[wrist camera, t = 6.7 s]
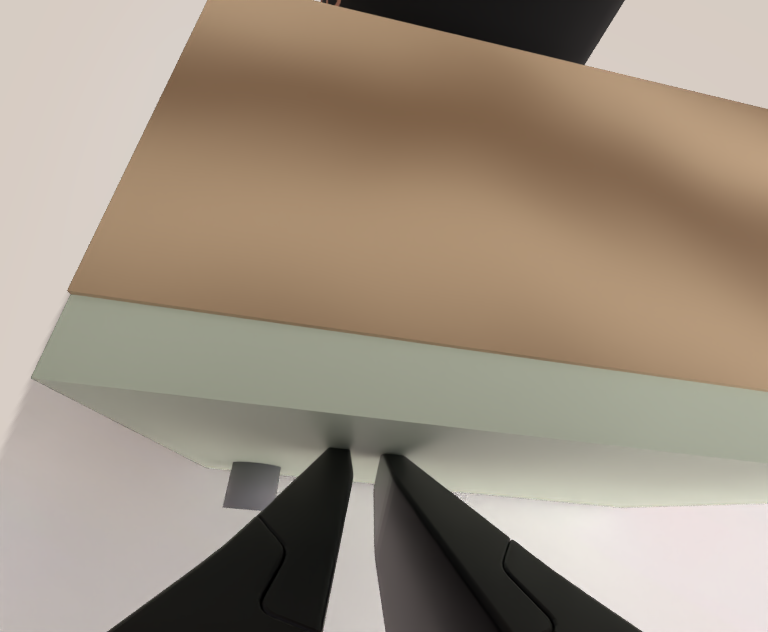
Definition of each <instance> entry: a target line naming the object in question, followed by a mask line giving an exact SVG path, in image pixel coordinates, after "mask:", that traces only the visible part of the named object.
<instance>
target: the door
mask: <svg viewBox="0 0 768 632" xmlns="http://www.w3.org/2000/svg"><path fill="white" fill-rule="evenodd" d="M31 379H33V380H35V381H37V382H39V383H41V384H43V385H45V386H47V387H49V388H51V389H53V390H55V391H57V392H59V393H61V394H63V395H65V396H67V397H68V398H70V399H72V400H74V401H76V402H78V403H80V404H82V405H84V406H86V407H88V408H90V409H92V410H94V411H96V412H98V413H100V414H102V415H104V416H106V417H108V418H109V419H111V420H113V421H115V422H117V423H119V424H121V425H123V426H125V427H127V428H129V429H131V430H133V431H135V432H137V433H139V434H141V435H143V436H145V437H147V438H149V439H151V440H152V441H154V442H156V443H158V444H160V445H162V446H164V447H166V448H168V449H170V450H172V451H174V452H176V453H178V454H180V455H182V456H184V457H186V458H188V459H190V460H192V461H193V462H195V463H197V464H199V465H201V466H203V467H205V468H211V469H221V470H231V473H230V478H229V482H228V486H227V491H226V495H225V500H224V504H223V507H224V508H235V509H247V510H259V511H262V510H264V509H265V508H266V507H267V506H268V505H269V504H270V503H271V502H272V501H273V500H274V499H275V498H276V493H277V487H278V482H279V476H280V475H284V476H294V477H298V476H299V475H300V474H301V473H302V472H303V471H304V470H306V469H307V468H308V467H309V466H310V465H311V464H312V463H313V462H314V461H315V460H316V459H317V458H318V457H319V456H320V455H321V454H322V453H323V452H324V451H325V450H326V449H328V448H329V447H331V448H341V449H349V450H350V453H351V459H352V466H353V482H357V483H368V484H374V483H375V478H376V474H377V469H378V465H379V460H380V456H381V455H382V454H385V453H387V454H396V455H404V456H405V457H407V458H408V459H409V460H410V461H412V462H413V463H414V464H416V465H417V466H418V467H419V468H421V469H422V470H423V471H425V472H426V473H427V474H428V475H430V476H431V477H432V478H434V479H435V480H436V481H437V482H439V483H440V484H441V485H442V486H444V487H445V488H446V489H448V490H449V491H451V492H462V493H472V494H483V495H493V496H504V497H514V498H525V499H535V500H546V501H556V502H566V503H577V504H587V505H598V506H608V507H619V508H632V507H667V506H702V505H737V504H768V392H764V391H757V390H750V389H743V388H736V387H728V386H721V385H714V384H707V383H700V382H693V381H686V380H679V379H671V378H664V377H657V376H650V375H643V374H636V373H629V372H622V371H614V370H607V369H600V368H593V367H586V366H579V365H572V364H565V363H557V362H550V361H543V360H536V359H529V358H522V357H515V356H508V355H500V354H493V353H486V352H479V351H472V350H465V349H458V348H451V347H443V346H436V345H429V344H422V343H415V342H408V341H401V340H394V339H387V338H379V337H372V336H365V335H358V334H351V333H344V332H337V331H330V330H322V329H315V328H308V327H301V326H294V325H287V324H280V323H273V322H265V321H258V320H251V319H244V318H237V317H230V316H223V315H216V314H208V313H201V312H194V311H187V310H180V309H173V308H166V307H159V306H151V305H144V304H137V303H130V302H123V301H116V300H109V299H102V298H94V297H87V296H80V295H73V294H71V295H70V297H69V299H68V301H67V303H66V305H65V307H64V309H63V312H62V314H61V316H60V318H59V320H58V322H57V324H56V326H55V328H54V330H53V332H52V335H51V337H50V339H49V341H48V343H47V345H46V347H45V349H44V351H43V353H42V356H41V358H40V360H39V362H38V364H37V366H36V368H35V370H34V372H33V374H32V376H31Z"/></svg>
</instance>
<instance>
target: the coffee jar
mask: <svg viewBox="0 0 768 632" xmlns="http://www.w3.org/2000/svg"><path fill="white" fill-rule="evenodd" d="M624 1H625V0H321V2H322V3H326V4H330V5H334V6H339V7H343V8H347V9H351V10H355V11H360V12H364V13H368V14H372V15H376V16H380V17H385V18H389V19H393V20H397V21H401V22H406V23H410V24H414V25H418V26H422V27H426V28H431V29H435V30H439V31H443V32H447V33H452V34H456V35H460V36H464V37H468V38H472V39H477V40H481V41H485V42H489V43H493V44H497V45H502V46H506V47H510V48H514V49H518V50H523V51H527V52H531V53H535V54H539V55H543V56H548V57H552V58H556V59H560V60H564V61H569V62H573V63H577V64H581V65H585V63H586V61H587V60H588V58H589V57H590V55H591V53H592V52H593V50H594V49H595V47H596V45H597V44H598V42H599V41H600V39H601V37H602V36H603V34H604V33H605V31H606V29H607V28H608V26H609V25H610V23H611V21H612V20H613V18H614V17H615V15H616V13H617V12H618V10H619V9H620V7H621V5H622V4H623V2H624Z"/></svg>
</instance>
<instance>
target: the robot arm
mask: <svg viewBox="0 0 768 632" xmlns="http://www.w3.org/2000/svg"><path fill="white" fill-rule="evenodd" d="M352 482H353V466H352V459H351V453H350V450H349V449H341V448H331V447H329V448H328V449H326V450H325V451H324V452H323V453H322V454H321V455H320V456H319V457H318V458H317V459H316V460H315V461H314V462H313V463H312V464H311V465H310V466H309V467H308V468H307V469H306V470H304V471H303V472H302V473H301V474H300V475H299V476H298V477H297V478H296V479H295V480H294V481H293V482H292V483H291V484H290V485H289V486H288V487H287V488H286V489H285V490H283V491H282V492H281V493H280V494H279V495H278V496H277V497H276V498H275V499H274V500H273V501H272V502H271V503H270V504H269V505H268V506H267V507H266V508H265V509H264V510H262V511H261V512H260V513H259V514H258V515H257V516H256V517H254V518H253V519H252V520H251V521H250V522H249V523H248V524H247V525H246V526H245V527H244V528H243V529H241V530H240V531H239V532H238V533H237V534H236V535H235V536H234V537H232V538H231V539H230V540H229V541H228V542H227V543H226V544H224V545H223V546H222V547H221V548H219V549H218V550H217V551H216V552H214V553H213V554H212V555H210V556H209V557H208V558H207V559H205V560H204V561H203V562H201V563H200V564H199V565H198V566H196V567H195V568H194V569H192V570H191V571H189V572H188V573H187V574H185V575H184V576H183V577H181V578H180V579H179V580H177V581H176V582H174V583H173V584H172V585H170V586H169V587H168V588H166V589H165V590H163V591H162V592H161V593H159V594H158V595H157V596H155V597H154V598H153V599H151V600H150V601H148V602H147V603H146V604H144V605H143V606H142V607H140V608H139V609H138V610H136V611H135V612H133V613H132V614H131V615H129V616H128V617H127V618H125V619H124V620H123V621H121V622H120V623H118V624H117V625H116V626H114V627H113V628H112V629H110V630H109V631H108V632H323V628H324V623H325V618H326V613H327V608H328V603H329V598H330V593H331V588H332V583H333V578H334V573H335V568H336V563H337V558H338V553H339V548H340V543H341V538H342V533H343V528H344V522H345V517H346V512H347V507H348V502H349V497H350V492H351V487H352ZM373 497H374V549H375V562H376V569H377V576H378V583H379V590H380V597H381V603H382V610H383V617H384V624H385V631H386V632H642V631H641V630H639V629H638V628H636V627H635V626H633V625H632V624H631V623H629V622H628V621H626V620H625V619H623V618H622V617H620V616H619V615H617V614H616V613H614V612H613V611H611V610H610V609H608V608H607V607H606V606H604V605H603V604H601V603H600V602H598V601H597V600H595V599H594V598H592V597H591V596H589V595H588V594H586V593H585V592H584V591H582V590H581V589H579V588H578V587H576V586H575V585H574V584H572V583H571V582H569V581H568V580H566V579H565V578H563V577H562V576H561V575H559V574H558V573H556V572H555V571H554V570H552V569H551V568H550V567H548V566H547V565H546V564H544V563H543V562H541V561H540V560H539V559H537V558H536V557H535V556H533V555H532V554H531V553H529V552H528V551H527V550H526V549H524V548H523V547H522V546H521V545H519V544H518V543H517V542H515V541H514V540H511V541H510V538H509V537H508V536H507V535H505V534H504V533H503V532H501V531H500V530H499V529H498V528H496V527H495V526H494V525H492V524H491V523H490V522H489V521H487V520H486V519H485V518H484V517H482V516H481V515H480V514H478V513H477V512H476V511H475V510H473V509H472V508H471V507H469V506H468V505H467V504H466V503H464V502H463V501H462V500H460V499H459V498H458V497H457V496H455V495H454V494H453V493H451V492H450V491H449V490H448V489H446V488H445V487H444V486H442V485H441V484H440V483H439V482H437V481H436V480H435V479H434V478H432V477H431V476H430V475H428V474H427V473H426V472H425V471H423V470H422V469H421V468H419V467H418V466H417V465H416V464H414V463H413V462H412V461H410V460H409V459H408V458H407V457H405V456H404V455H396V454H387V453H385V454H382V455H381V456H380V460H379V465H378V469H377V474H376V478H375V483H374V496H373Z"/></svg>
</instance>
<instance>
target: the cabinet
mask: <svg viewBox="0 0 768 632" xmlns="http://www.w3.org/2000/svg"><path fill="white" fill-rule="evenodd" d="M67 291H68V292H69V293H70V294H73V295H80V296H87V297H94V298H102V299H109V300H116V301H123V302H130V303H137V304H144V305H151V306H159V307H166V308H173V309H180V310H187V311H194V312H201V313H208V314H216V315H223V316H230V317H237V318H244V319H251V320H258V321H265V322H273V323H280V324H287V325H294V326H301V327H308V328H315V329H322V330H330V331H337V332H344V333H351V334H358V335H365V336H372V337H379V338H387V339H394V340H401V341H408V342H415V343H422V344H429V345H436V346H443V347H451V348H458V349H465V350H472V351H479V352H486V353H493V354H500V355H508V356H515V357H522V358H529V359H536V360H543V361H550V362H557V363H565V364H572V365H579V366H586V367H593V368H600V369H607V370H614V371H622V372H629V373H636V374H643V375H650V376H657V377H664V378H671V379H679V380H686V381H693V382H700V383H707V384H714V385H721V386H728V387H736V388H743V389H750V390H757V391H764V392H768V109H765V108H760V107H756V106H753V105H748V104H744V103H740V102H735V101H732V100H727V99H723V98H719V97H715V96H710V95H706V94H702V93H698V92H694V91H690V90H686V89H681V88H677V87H673V86H669V85H665V84H660V83H656V82H652V81H648V80H644V79H640V78H635V77H631V76H627V75H623V74H618V73H615V72H610V71H606V70H602V69H598V68H594V67H589V66H585V65H581V64H577V63H573V62H569V61H564V60H560V59H556V58H552V57H548V56H543V55H539V54H535V53H531V52H527V51H523V50H518V49H514V48H510V47H506V46H502V45H497V44H493V43H489V42H485V41H481V40H477V39H472V38H468V37H464V36H460V35H456V34H452V33H447V32H443V31H439V30H435V29H431V28H426V27H422V26H418V25H414V24H410V23H406V22H401V21H397V20H393V19H389V18H385V17H380V16H376V15H372V14H368V13H364V12H360V11H355V10H351V9H347V8H343V7H339V6H334V5H330V4H326V3H322V2H318V1H314V0H207V2H206V4H205V6H204V9H203V11H202V13H201V15H200V17H199V19H198V21H197V23H196V25H195V27H194V29H193V31H192V33H191V36H190V37H189V40H188V42H187V44H186V46H185V48H184V50H183V52H182V54H181V56H180V58H179V60H178V62H177V64H176V66H175V69H174V71H173V73H172V75H171V77H170V79H169V81H168V83H167V85H166V87H165V89H164V91H163V93H162V95H161V97H160V100H159V102H158V104H157V106H156V108H155V110H154V112H153V114H152V116H151V118H150V120H149V122H148V124H147V126H146V128H145V130H144V133H143V135H142V137H141V139H140V141H139V143H138V145H137V147H136V149H135V151H134V153H133V155H132V157H131V160H130V162H129V164H128V166H127V168H126V170H125V172H124V174H123V176H122V178H121V180H120V182H119V184H118V186H117V188H116V191H115V193H114V195H113V197H112V199H111V201H110V203H109V205H108V207H107V209H106V211H105V213H104V215H103V217H102V219H101V222H100V224H99V226H98V228H97V230H96V232H95V234H94V236H93V238H92V240H91V242H90V244H89V246H88V249H87V250H86V252H85V255H84V257H83V259H82V261H81V263H80V265H79V267H78V269H77V271H76V273H75V275H74V277H73V279H72V281H71V284H70V286H69V288H68V290H67Z"/></svg>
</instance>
